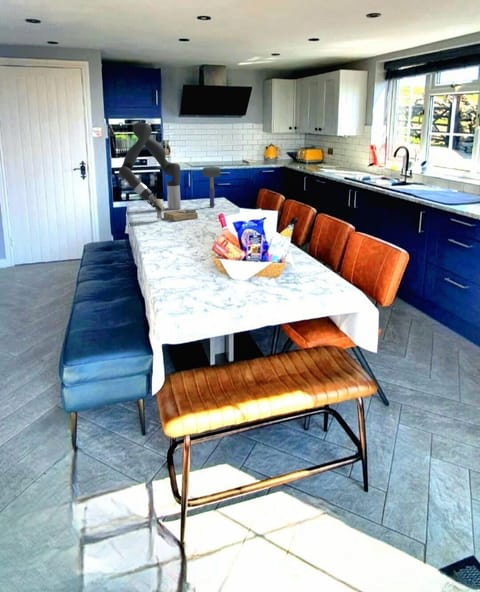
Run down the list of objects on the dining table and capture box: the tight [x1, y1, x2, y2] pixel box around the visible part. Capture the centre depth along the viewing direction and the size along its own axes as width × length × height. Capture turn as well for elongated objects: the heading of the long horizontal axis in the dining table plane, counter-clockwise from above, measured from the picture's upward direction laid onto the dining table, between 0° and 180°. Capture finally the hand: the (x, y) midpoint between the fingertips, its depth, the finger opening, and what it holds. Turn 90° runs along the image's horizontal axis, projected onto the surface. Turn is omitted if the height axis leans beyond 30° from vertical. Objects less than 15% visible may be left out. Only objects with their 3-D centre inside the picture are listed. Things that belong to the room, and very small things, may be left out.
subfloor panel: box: [163, 208, 199, 223], centre depth 348 cm, size 15×18×4 cm
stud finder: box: [186, 208, 197, 213], centre depth 346 cm, size 3×6×2 cm, turn 127°
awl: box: [154, 198, 164, 219], centre depth 337 cm, size 5×5×12 cm
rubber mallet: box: [202, 166, 221, 208], centre depth 381 cm, size 12×8×30 cm, turn 101°
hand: (161, 209), depth 337 cm, fingers closed on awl, 5 cm apart
